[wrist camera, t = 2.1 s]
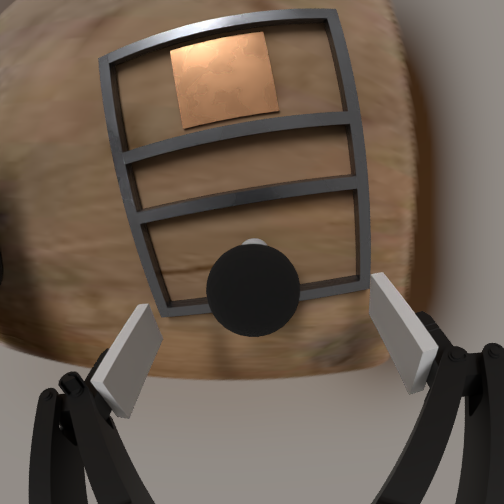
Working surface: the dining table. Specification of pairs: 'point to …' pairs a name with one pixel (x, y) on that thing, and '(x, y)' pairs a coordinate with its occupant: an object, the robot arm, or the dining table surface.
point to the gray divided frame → (236, 132)
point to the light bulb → (253, 289)
